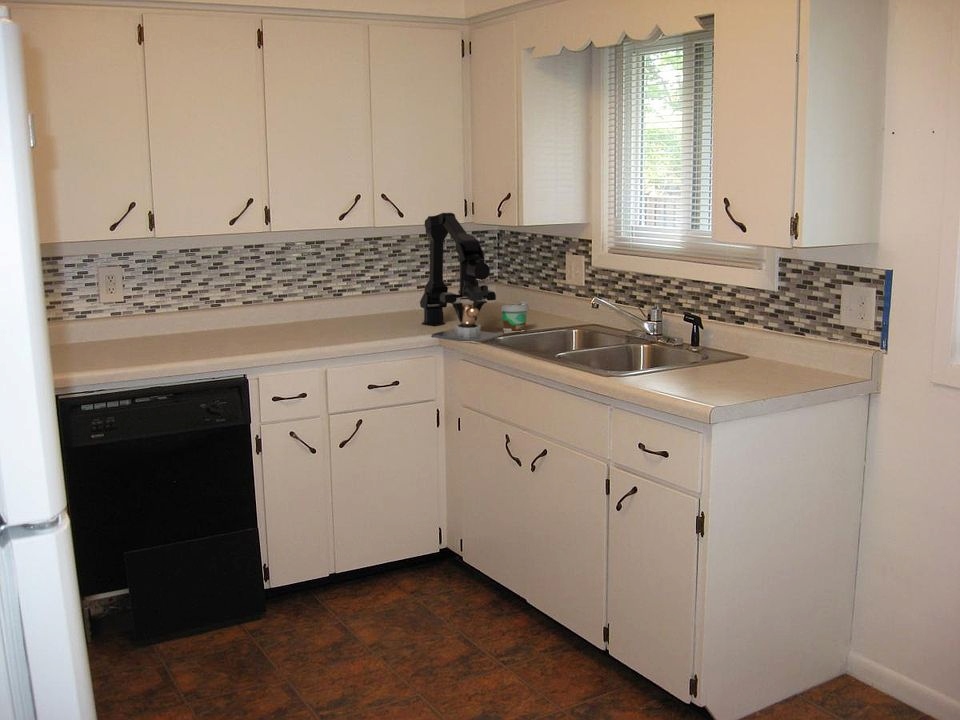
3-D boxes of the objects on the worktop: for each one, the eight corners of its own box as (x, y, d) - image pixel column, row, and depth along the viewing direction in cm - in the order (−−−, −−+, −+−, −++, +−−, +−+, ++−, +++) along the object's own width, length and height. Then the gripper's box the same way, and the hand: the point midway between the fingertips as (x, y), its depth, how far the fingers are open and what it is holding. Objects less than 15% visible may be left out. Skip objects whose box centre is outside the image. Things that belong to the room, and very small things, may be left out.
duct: (431, 336, 342) (431, 325, 342) (458, 330, 354) (458, 319, 353) (478, 344, 331) (478, 332, 330) (504, 337, 343) (504, 325, 342)
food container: (515, 335, 346) (515, 307, 344) (501, 333, 350) (501, 305, 348) (535, 330, 356) (535, 302, 354) (521, 328, 359) (521, 300, 357)
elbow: (467, 333, 336) (467, 307, 334) (458, 329, 343) (458, 303, 341) (481, 332, 338) (481, 306, 336) (471, 328, 345) (472, 302, 343)
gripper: (451, 280, 327) (451, 327, 331) (503, 277, 334) (502, 323, 338) (439, 276, 337) (439, 321, 340) (489, 273, 344) (489, 318, 348)
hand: (467, 321), depth 341 cm, fingers closed on elbow, 5 cm apart
